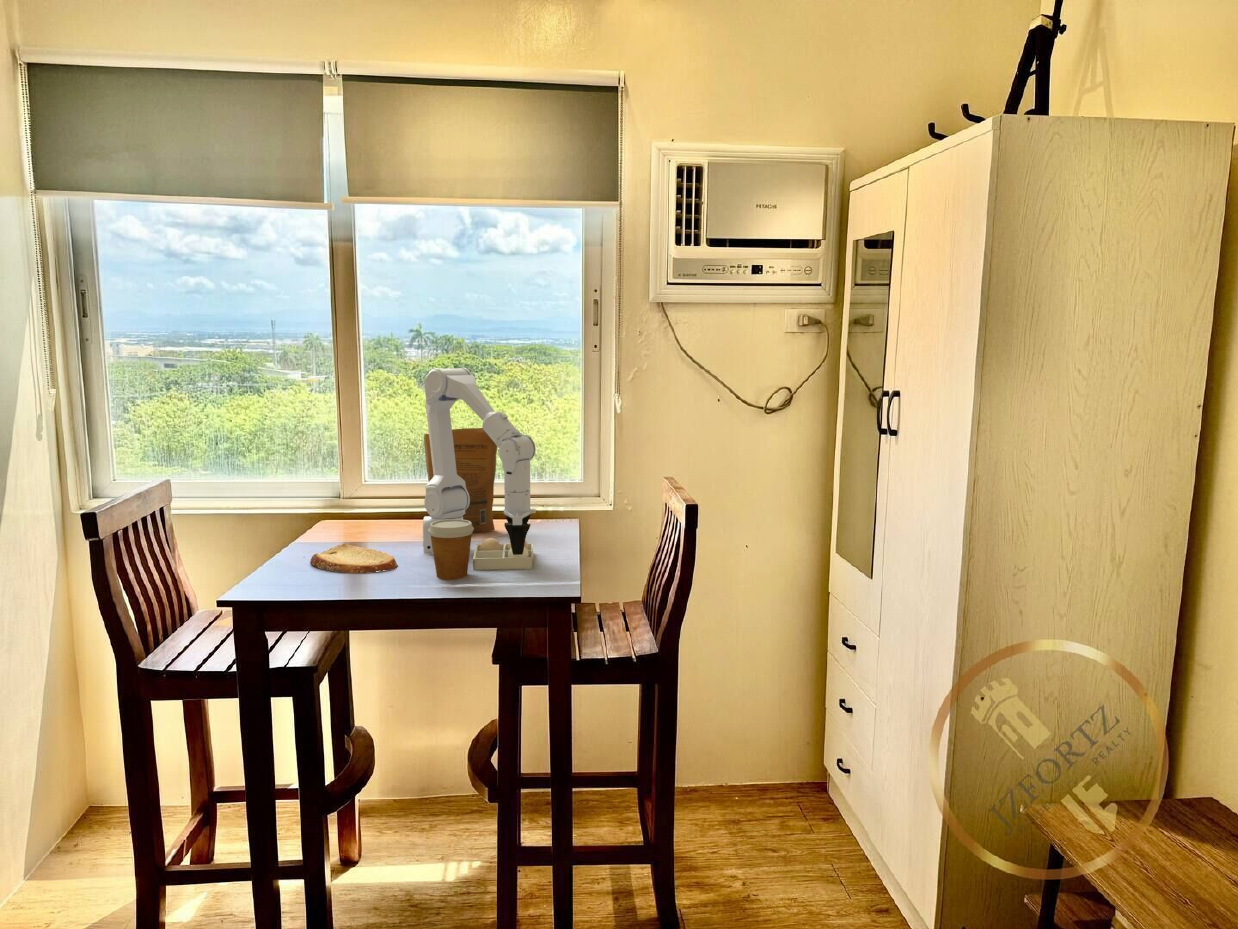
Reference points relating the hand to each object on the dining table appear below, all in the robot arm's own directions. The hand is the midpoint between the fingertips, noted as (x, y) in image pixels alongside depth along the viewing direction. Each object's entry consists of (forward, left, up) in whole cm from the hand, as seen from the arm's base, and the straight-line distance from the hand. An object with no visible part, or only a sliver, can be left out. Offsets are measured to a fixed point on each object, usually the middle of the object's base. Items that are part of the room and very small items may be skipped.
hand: (517, 550), depth 180 cm
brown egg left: (-6, +6, -3) cm, 10 cm away
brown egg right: (0, +6, -3) cm, 7 cm away
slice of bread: (-37, +6, -4) cm, 38 cm away
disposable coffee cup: (-14, -8, -4) cm, 16 cm away
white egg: (0, 0, -3) cm, 3 cm away
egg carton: (-3, +3, -4) cm, 6 cm away
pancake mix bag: (-15, +37, -4) cm, 40 cm away
